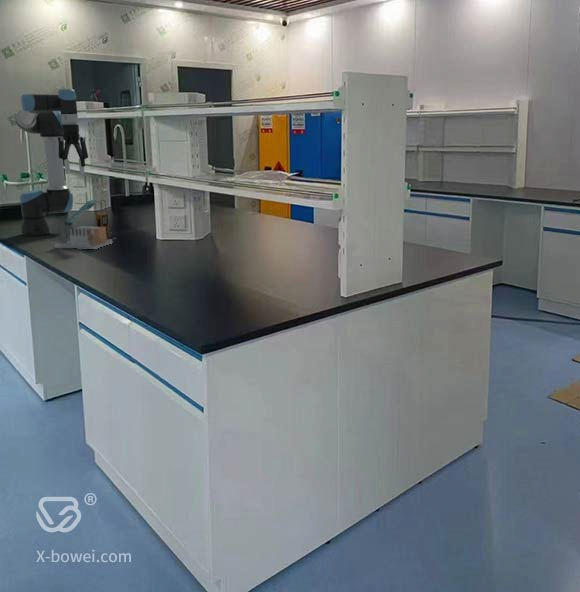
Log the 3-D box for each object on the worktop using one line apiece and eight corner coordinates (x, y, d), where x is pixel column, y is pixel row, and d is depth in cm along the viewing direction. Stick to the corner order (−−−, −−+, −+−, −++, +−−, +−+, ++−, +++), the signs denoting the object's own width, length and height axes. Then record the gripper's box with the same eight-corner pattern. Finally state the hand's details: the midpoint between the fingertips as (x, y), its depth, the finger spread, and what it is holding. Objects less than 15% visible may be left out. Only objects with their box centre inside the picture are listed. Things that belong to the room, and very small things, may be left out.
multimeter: (113, 241, 318) (109, 202, 312) (95, 240, 320) (91, 201, 314) (125, 236, 332) (122, 198, 326) (108, 235, 334) (105, 198, 328)
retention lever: (62, 227, 304) (59, 224, 304) (69, 225, 310) (67, 222, 309) (90, 204, 296) (88, 200, 296) (97, 202, 302) (95, 199, 302)
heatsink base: (54, 248, 302) (52, 223, 299) (74, 241, 317) (71, 218, 314) (94, 250, 297) (92, 225, 293) (112, 243, 311) (110, 220, 308)
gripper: (46, 124, 290) (52, 174, 297) (84, 123, 285) (89, 174, 291) (56, 124, 297) (61, 172, 304) (93, 123, 292) (98, 173, 298)
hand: (75, 173), depth 298 cm, fingers open, 7 cm apart
